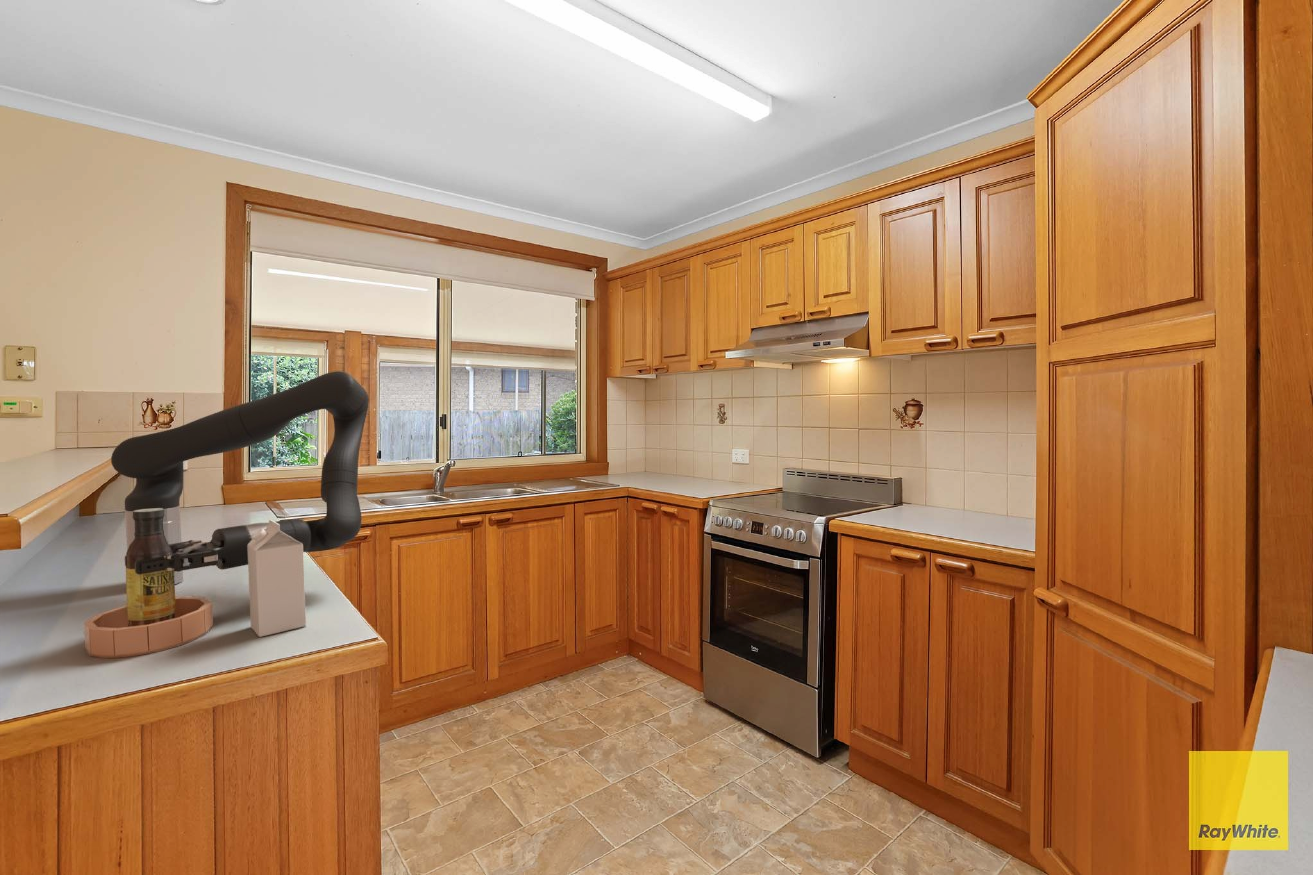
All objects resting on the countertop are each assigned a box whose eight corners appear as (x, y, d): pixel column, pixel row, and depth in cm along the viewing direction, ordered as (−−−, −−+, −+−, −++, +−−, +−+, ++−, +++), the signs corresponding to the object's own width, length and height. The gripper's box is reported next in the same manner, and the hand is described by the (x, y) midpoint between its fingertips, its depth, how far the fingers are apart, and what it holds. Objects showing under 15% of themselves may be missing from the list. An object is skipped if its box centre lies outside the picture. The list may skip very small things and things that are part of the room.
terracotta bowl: (78, 641, 99) (76, 615, 98) (195, 614, 111) (194, 591, 111) (99, 667, 89) (97, 637, 89) (224, 634, 102) (223, 608, 101)
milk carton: (296, 617, 110) (292, 516, 109) (306, 627, 105) (302, 521, 104) (250, 627, 105) (245, 521, 104) (259, 638, 100) (254, 527, 99)
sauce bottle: (148, 633, 96) (139, 514, 95) (117, 631, 98) (109, 513, 96) (187, 619, 103) (180, 506, 101) (158, 616, 104) (150, 506, 103)
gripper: (232, 520, 115) (118, 537, 102) (260, 529, 106) (139, 548, 93) (234, 558, 115) (121, 579, 102) (262, 570, 107) (143, 595, 93)
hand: (130, 564), depth 98 cm, fingers closed on sauce bottle, 6 cm apart
